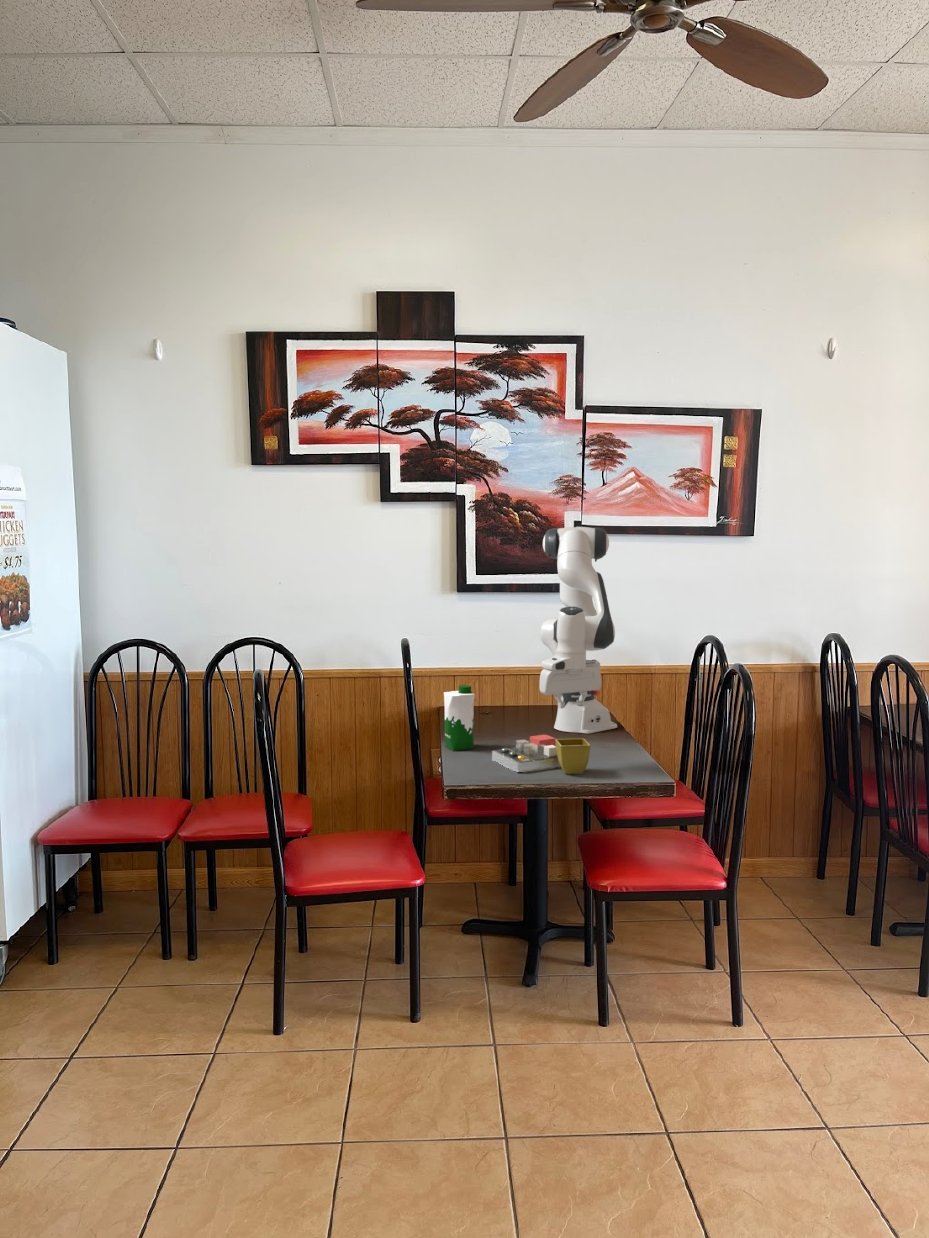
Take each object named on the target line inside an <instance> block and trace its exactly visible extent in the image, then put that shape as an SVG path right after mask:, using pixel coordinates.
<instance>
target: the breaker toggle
mask: <svg viewBox="0 0 929 1238" xmlns="http://www.w3.org/2000/svg"><path fill="white" fill-rule="evenodd" d="M544 755H547V756H557V750H556V746H554V745H548V746H544Z"/></svg>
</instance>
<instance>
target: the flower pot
mask: <svg viewBox="0 0 929 1238" xmlns="http://www.w3.org/2000/svg"><path fill="white" fill-rule="evenodd" d="M556 750H557V757H558V761H559V763H560V766H561V767H560V768H561V769H562V771H563V772H564V773H565V774H567V775H571V774H573V775H574V774H579V775H581V774H583V773H584V772H585V770H586V768H587V767H588V763H589V759H590V752H591V751H590V750H591V744H590V743H589V742H588V741H587V740H586V739H585V738H556Z"/></svg>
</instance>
